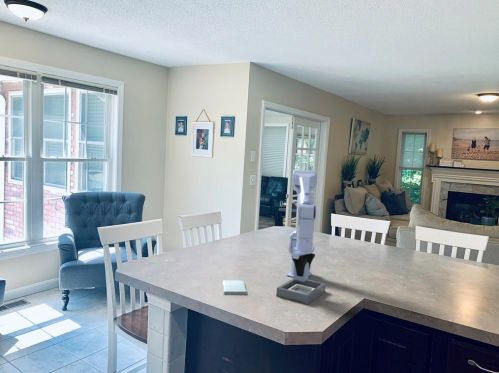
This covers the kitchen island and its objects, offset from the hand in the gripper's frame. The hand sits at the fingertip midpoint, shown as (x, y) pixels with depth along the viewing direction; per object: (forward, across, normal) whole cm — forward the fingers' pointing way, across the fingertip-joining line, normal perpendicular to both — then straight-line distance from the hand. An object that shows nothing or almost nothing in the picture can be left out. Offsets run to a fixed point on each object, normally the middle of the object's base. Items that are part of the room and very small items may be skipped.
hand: (302, 274), depth 140 cm
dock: (+7, 0, 0) cm, 7 cm away
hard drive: (+8, +11, -22) cm, 26 cm away
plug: (+2, 0, 0) cm, 2 cm away
